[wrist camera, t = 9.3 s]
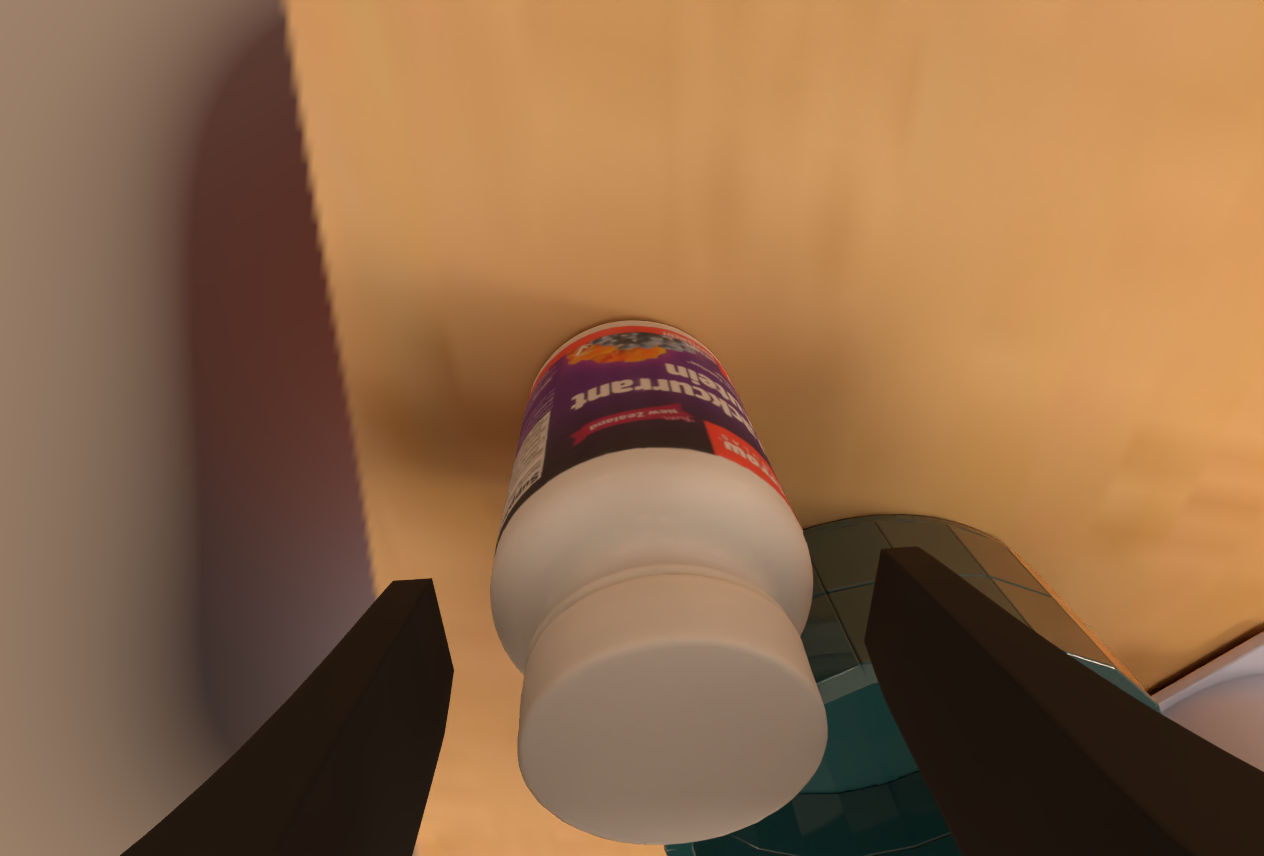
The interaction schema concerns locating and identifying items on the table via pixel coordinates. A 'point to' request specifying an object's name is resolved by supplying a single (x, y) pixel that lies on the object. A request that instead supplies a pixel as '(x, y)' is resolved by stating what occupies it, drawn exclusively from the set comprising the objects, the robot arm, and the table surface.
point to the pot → (856, 709)
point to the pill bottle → (653, 596)
